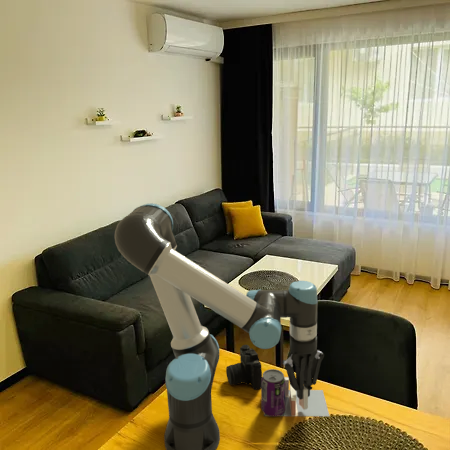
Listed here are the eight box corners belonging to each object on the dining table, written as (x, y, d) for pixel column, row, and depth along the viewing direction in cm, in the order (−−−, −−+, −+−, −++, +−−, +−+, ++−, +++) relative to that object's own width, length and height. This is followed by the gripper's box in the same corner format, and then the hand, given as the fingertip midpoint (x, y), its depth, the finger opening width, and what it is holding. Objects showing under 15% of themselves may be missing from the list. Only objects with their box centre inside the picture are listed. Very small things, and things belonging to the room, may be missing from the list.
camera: (222, 370, 151) (221, 345, 148) (251, 365, 153) (250, 340, 151) (233, 395, 138) (232, 368, 135) (265, 389, 140) (264, 361, 138)
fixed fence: (264, 396, 136) (264, 378, 134) (264, 393, 138) (264, 375, 136) (293, 396, 136) (294, 378, 134) (293, 393, 137) (293, 375, 135)
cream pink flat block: (289, 396, 135) (289, 380, 134) (294, 397, 135) (294, 380, 133) (290, 415, 127) (291, 397, 126) (296, 415, 127) (296, 397, 125)
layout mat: (264, 416, 128) (264, 415, 128) (262, 390, 139) (262, 389, 139) (329, 417, 127) (329, 416, 127) (322, 390, 138) (322, 390, 138)
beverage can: (284, 419, 126) (284, 383, 123) (260, 417, 127) (259, 381, 124) (286, 403, 132) (286, 369, 129) (263, 401, 134) (262, 367, 131)
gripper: (290, 347, 117) (290, 421, 123) (330, 336, 121) (329, 407, 127) (276, 334, 123) (278, 405, 130) (315, 324, 128) (314, 392, 134)
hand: (303, 406), depth 129 cm, fingers closed
